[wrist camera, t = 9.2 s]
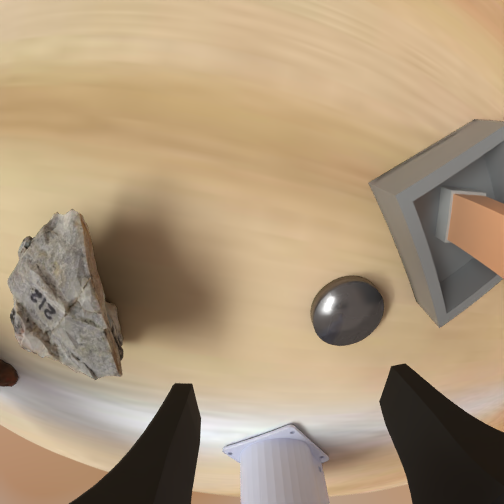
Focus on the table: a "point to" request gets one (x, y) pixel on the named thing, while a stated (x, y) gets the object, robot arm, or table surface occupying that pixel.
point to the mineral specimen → (65, 300)
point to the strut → (473, 225)
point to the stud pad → (346, 310)
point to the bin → (426, 214)
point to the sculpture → (7, 374)
